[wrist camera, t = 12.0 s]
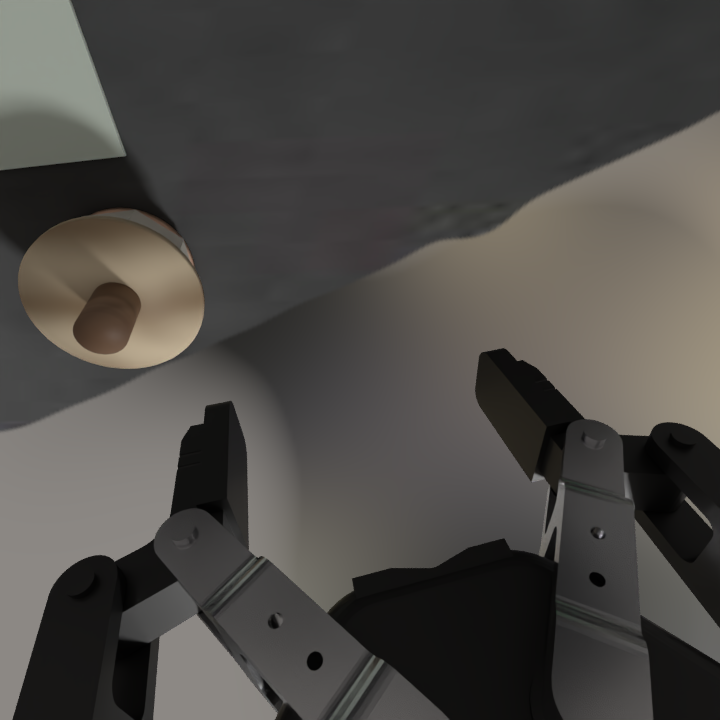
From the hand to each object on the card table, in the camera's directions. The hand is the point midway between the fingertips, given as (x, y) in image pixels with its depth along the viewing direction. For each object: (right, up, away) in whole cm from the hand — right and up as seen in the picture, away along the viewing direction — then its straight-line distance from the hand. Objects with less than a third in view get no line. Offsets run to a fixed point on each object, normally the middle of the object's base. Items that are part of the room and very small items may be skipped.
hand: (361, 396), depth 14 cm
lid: (-18, +6, +18) cm, 27 cm away
